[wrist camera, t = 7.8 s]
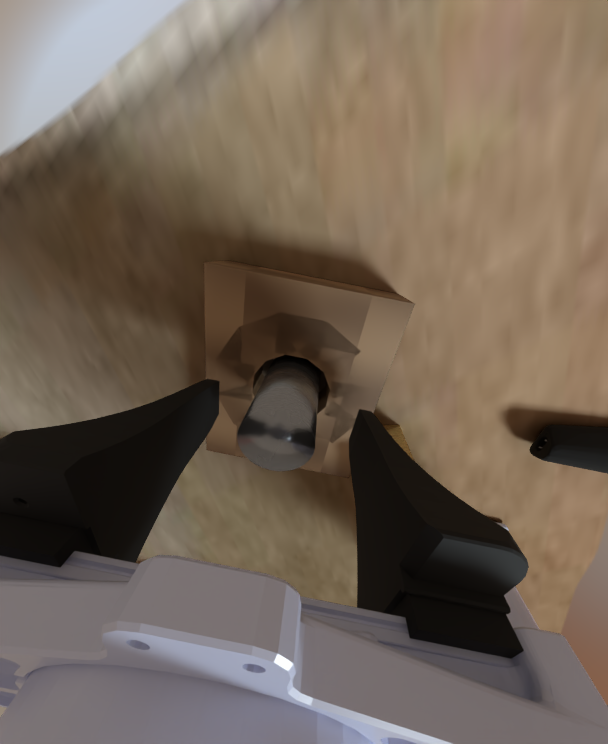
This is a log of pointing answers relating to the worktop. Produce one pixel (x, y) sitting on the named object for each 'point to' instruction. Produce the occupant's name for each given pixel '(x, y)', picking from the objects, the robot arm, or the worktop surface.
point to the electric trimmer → (573, 446)
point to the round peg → (282, 416)
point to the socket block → (298, 348)
